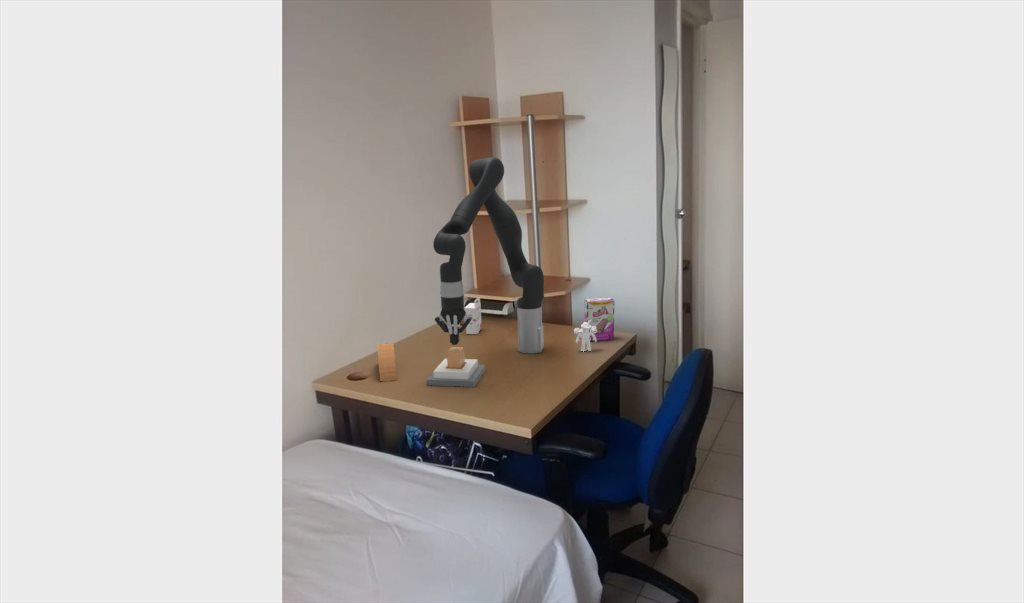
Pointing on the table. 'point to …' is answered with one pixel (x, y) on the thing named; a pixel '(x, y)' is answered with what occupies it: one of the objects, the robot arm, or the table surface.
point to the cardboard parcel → (455, 358)
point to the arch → (386, 362)
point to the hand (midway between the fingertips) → (454, 344)
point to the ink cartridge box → (474, 317)
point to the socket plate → (457, 382)
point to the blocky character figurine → (585, 335)
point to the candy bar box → (600, 317)
